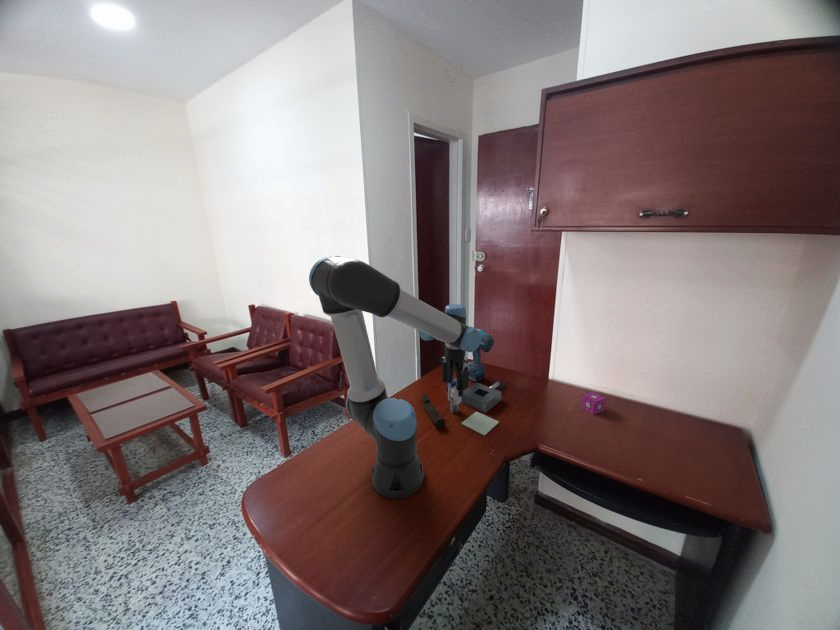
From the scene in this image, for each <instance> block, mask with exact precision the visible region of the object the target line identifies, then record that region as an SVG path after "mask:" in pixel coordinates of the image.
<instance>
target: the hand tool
mask: <svg viewBox="0 0 840 630" xmlns="http://www.w3.org/2000/svg"><path fill="white" fill-rule="evenodd" d="M421 403H422V406H423V409H424V410H425V411H426V412H427V414H428V415H429V417H430V419H431V421H432V422H433V423H434V428H435V429H437V430H439V429H442V428H443V427H444V426H445V424H446V419H445V418H443V417H442V416H441V414H440V412H439V410H437V409H436V407H435V406H434V404H433V403H432V402H431V398H429V396H428V395H426V394H422V395H421Z"/></svg>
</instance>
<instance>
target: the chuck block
mask: <svg viewBox="0 0 840 630" xmlns="http://www.w3.org/2000/svg"><path fill="white" fill-rule="evenodd" d="M500 385H501V383H500V382H499V381H496V382H495V383H493V384H491V386H488V385H485V384H482V383H480V382H475V383H474V384H473V385H470V386H469V387H467V388H466V389H464V390H463V396H461V402H460V403H463V404H465V405H467V406H470V407H471V408H474V409H475V410H476V409H477V410H479V411H480V412H482V413H485V414H486V413H487V412H489V411H490V410H491V409H492V408H493V407H495V406H497V404H498V403H500V402H501V401H502V391H501V390H498V389H497V387H499V386H500Z"/></svg>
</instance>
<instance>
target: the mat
mask: <svg viewBox="0 0 840 630" xmlns="http://www.w3.org/2000/svg"><path fill="white" fill-rule="evenodd" d="M499 423H500V421H499V420H496V419H494V418H492V417H490V416H487V415H485V414H483V413H481V412H478V411H475V412H474V413H473V414H471V415H470V416H469V417H466V419H465V420H464V421H462V422H461V423H460V424H461V425H462V426H464V427H465V428H466V427H467V428H468V429H470V430H473V431H474V432H476V433H478V434H480V435H482V436H486V435H488V433H490V432H491V430H493V429H494V428H495V427H496V426H497V425H498V424H499Z"/></svg>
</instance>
